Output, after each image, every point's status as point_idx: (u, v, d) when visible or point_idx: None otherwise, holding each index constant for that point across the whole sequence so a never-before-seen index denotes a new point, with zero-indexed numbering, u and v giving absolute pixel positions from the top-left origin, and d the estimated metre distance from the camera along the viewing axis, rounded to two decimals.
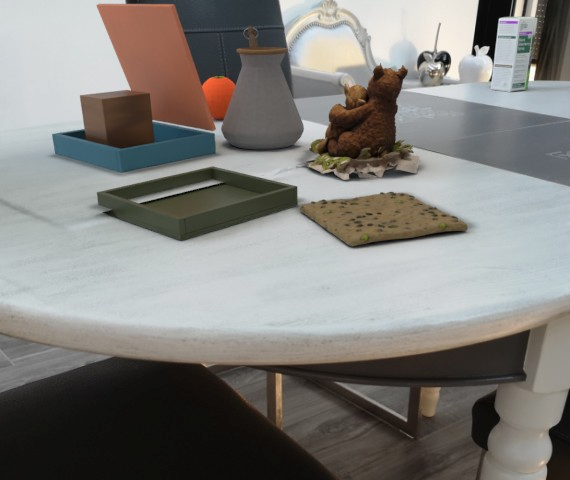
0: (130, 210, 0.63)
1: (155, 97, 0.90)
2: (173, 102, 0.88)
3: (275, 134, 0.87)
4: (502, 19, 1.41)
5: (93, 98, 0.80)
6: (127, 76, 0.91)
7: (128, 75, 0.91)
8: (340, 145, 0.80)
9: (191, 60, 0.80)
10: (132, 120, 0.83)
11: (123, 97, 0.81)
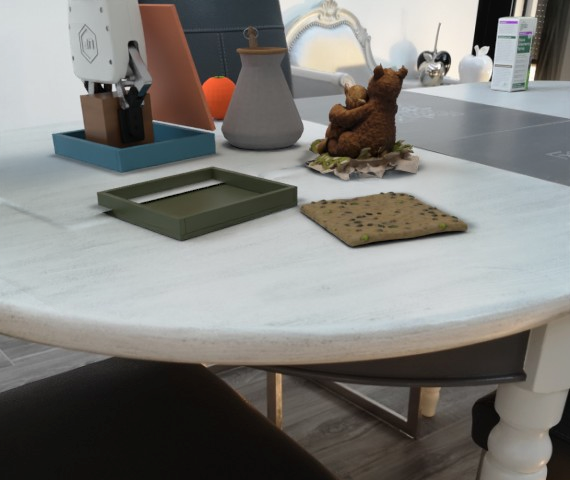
0: (130, 210, 0.63)
1: (155, 97, 0.90)
2: (173, 102, 0.88)
3: (275, 134, 0.87)
4: (502, 19, 1.41)
5: (93, 98, 0.80)
6: None
7: None
8: (340, 145, 0.80)
9: (191, 60, 0.80)
10: None
11: None
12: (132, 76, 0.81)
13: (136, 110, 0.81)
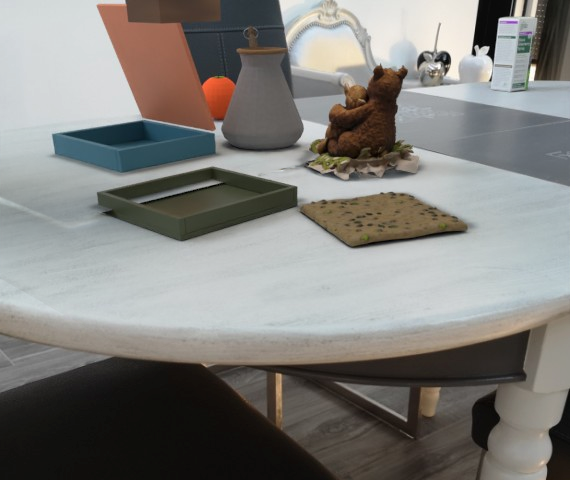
0: (130, 210, 0.63)
1: (155, 97, 0.90)
2: (173, 102, 0.88)
3: (275, 134, 0.87)
4: (502, 19, 1.41)
5: None
6: (127, 76, 0.91)
7: (128, 75, 0.91)
8: (340, 145, 0.80)
9: (191, 60, 0.80)
10: None
11: None
12: None
13: None
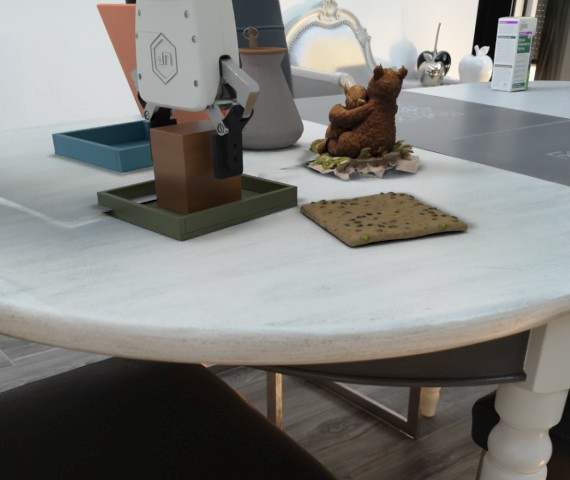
0: (130, 210, 0.63)
1: None
2: None
3: (275, 134, 0.87)
4: (502, 19, 1.41)
5: (169, 133, 0.61)
6: (127, 76, 0.91)
7: (128, 75, 0.91)
8: (340, 145, 0.80)
9: None
10: None
11: (208, 132, 0.62)
12: None
13: (236, 136, 0.60)
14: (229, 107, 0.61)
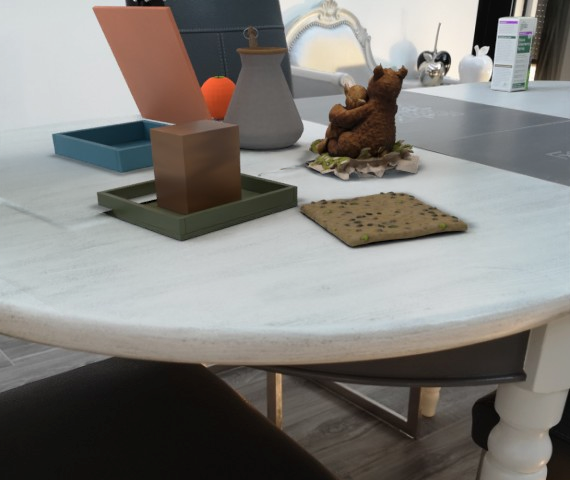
0: (130, 210, 0.63)
1: (154, 98, 0.90)
2: (172, 103, 0.88)
3: (275, 134, 0.87)
4: (502, 19, 1.41)
5: (169, 133, 0.61)
6: (125, 77, 0.91)
7: (126, 76, 0.90)
8: (340, 145, 0.80)
9: (188, 62, 0.80)
10: (216, 160, 0.64)
11: (208, 132, 0.62)
12: None
13: (159, 3, 0.81)
14: None
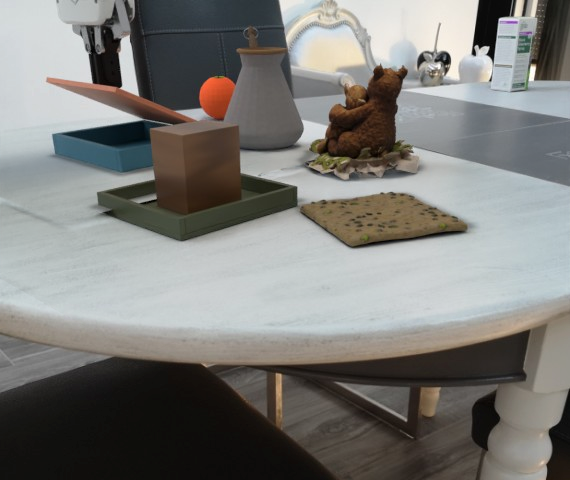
0: (130, 210, 0.63)
1: (145, 115, 0.90)
2: (164, 119, 0.87)
3: (275, 134, 0.87)
4: (502, 19, 1.41)
5: (169, 133, 0.61)
6: (109, 105, 0.91)
7: (110, 105, 0.90)
8: (340, 145, 0.80)
9: (160, 107, 0.79)
10: (216, 160, 0.64)
11: (208, 132, 0.62)
12: None
13: (112, 55, 0.79)
14: None
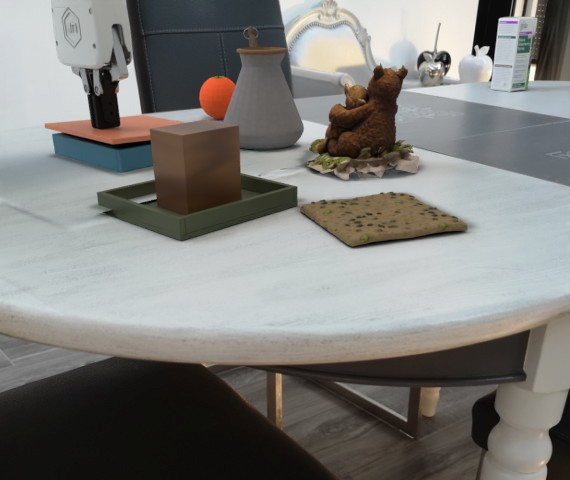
0: (130, 210, 0.63)
1: None
2: None
3: (275, 134, 0.87)
4: (502, 19, 1.41)
5: (169, 133, 0.61)
6: None
7: None
8: (340, 145, 0.80)
9: None
10: (216, 160, 0.64)
11: (208, 132, 0.62)
12: None
13: (111, 96, 0.81)
14: None
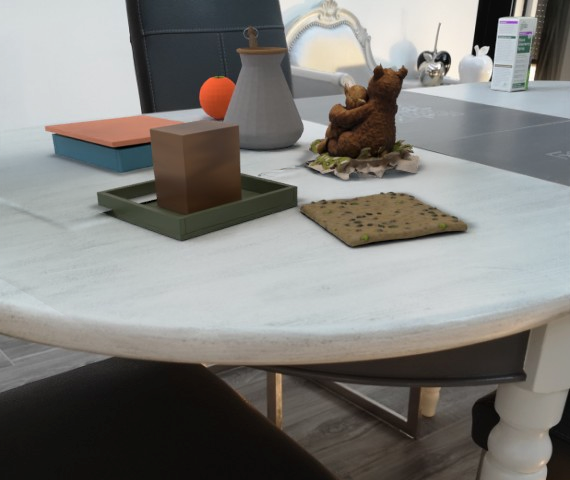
0: (130, 210, 0.63)
1: None
2: None
3: (275, 134, 0.87)
4: (502, 19, 1.41)
5: (169, 133, 0.61)
6: None
7: None
8: (340, 145, 0.80)
9: None
10: (216, 160, 0.64)
11: (208, 132, 0.62)
12: None
13: None
14: None
